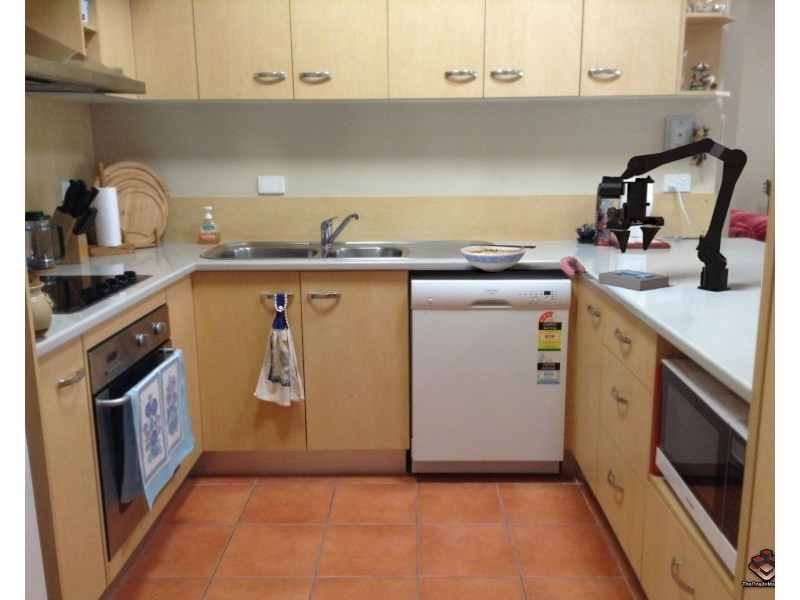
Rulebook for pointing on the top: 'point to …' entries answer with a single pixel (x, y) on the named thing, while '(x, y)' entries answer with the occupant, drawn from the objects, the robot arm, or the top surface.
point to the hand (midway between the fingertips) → (634, 251)
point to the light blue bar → (633, 273)
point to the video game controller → (571, 265)
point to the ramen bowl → (494, 256)
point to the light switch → (633, 281)
